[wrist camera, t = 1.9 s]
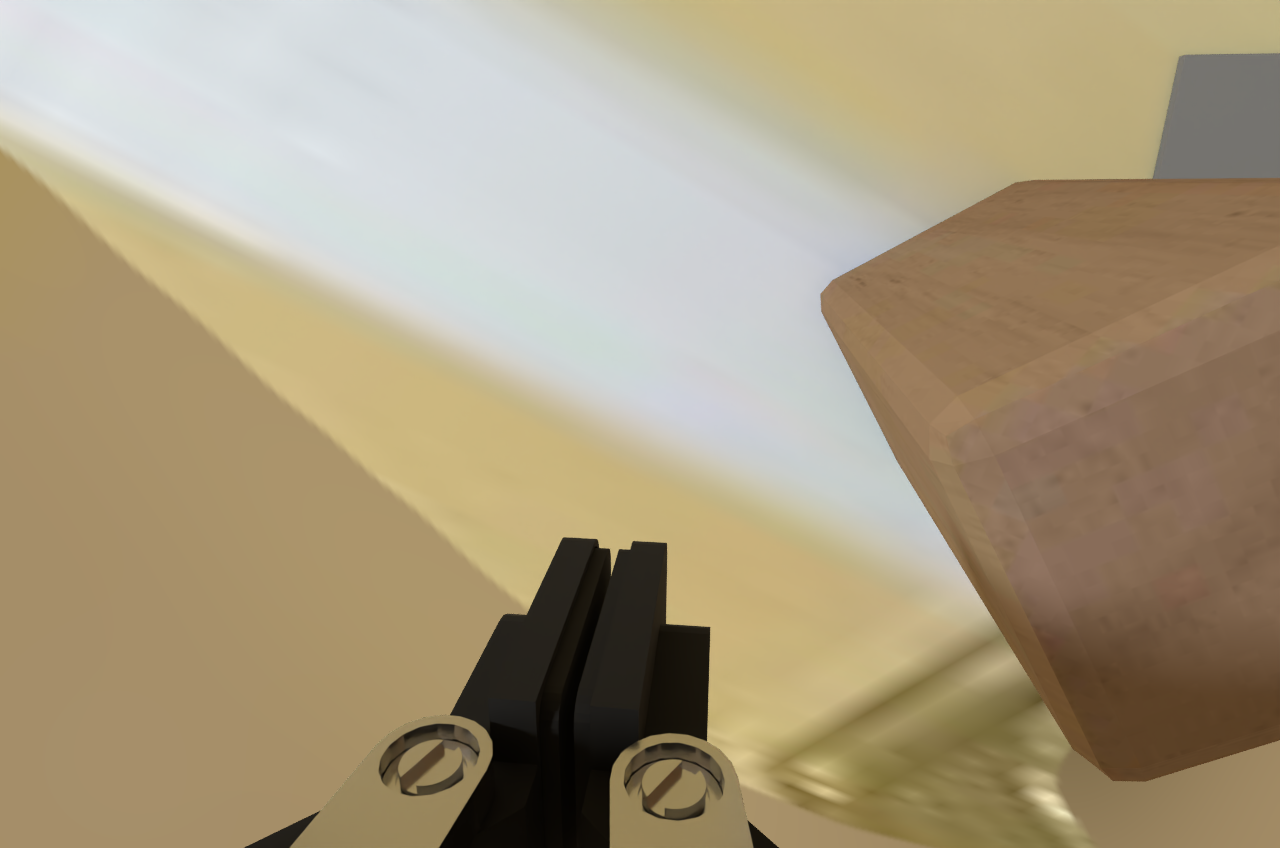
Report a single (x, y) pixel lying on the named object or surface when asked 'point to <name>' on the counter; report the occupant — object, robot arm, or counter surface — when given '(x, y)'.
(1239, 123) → the mat
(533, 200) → the counter surface
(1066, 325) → the block
